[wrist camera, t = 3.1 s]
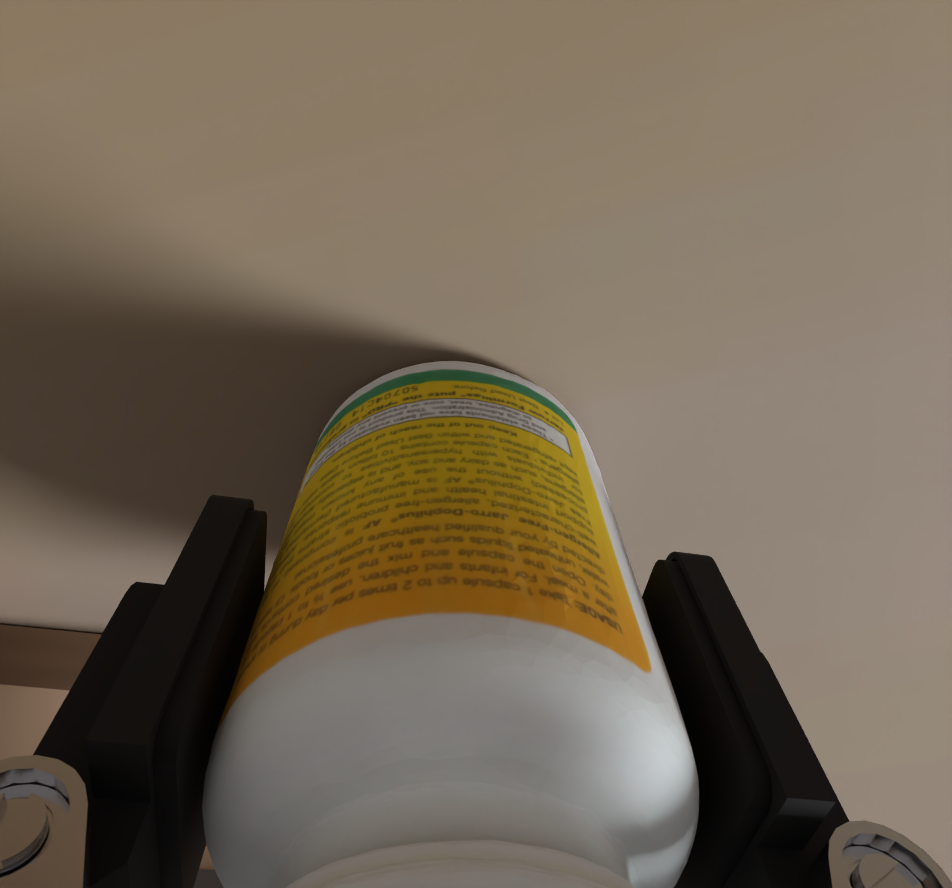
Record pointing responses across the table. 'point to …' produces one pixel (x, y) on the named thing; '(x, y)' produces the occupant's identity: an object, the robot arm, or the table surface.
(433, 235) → the table surface
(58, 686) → the holder
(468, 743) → the supplement bottle
